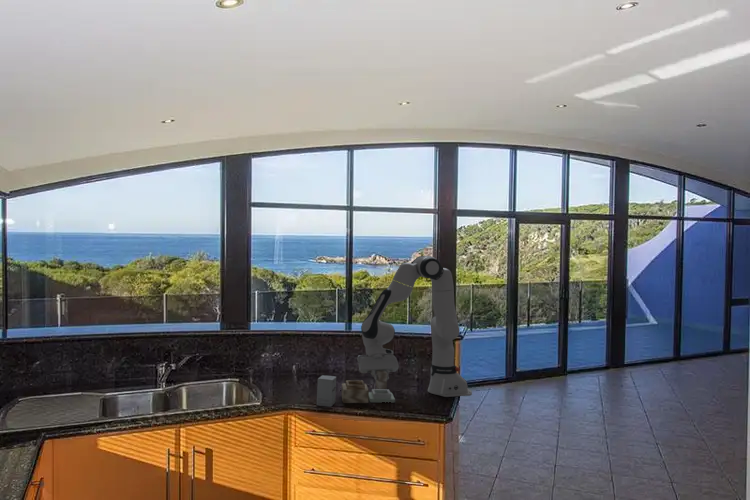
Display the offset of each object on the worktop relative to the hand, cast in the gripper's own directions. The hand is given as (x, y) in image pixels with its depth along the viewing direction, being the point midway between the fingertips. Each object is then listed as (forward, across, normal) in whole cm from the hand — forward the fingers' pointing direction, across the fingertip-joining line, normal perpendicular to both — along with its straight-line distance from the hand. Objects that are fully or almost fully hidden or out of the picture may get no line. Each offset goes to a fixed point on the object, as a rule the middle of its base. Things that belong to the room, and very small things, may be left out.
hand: (382, 379), depth 292 cm
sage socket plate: (+7, 0, +7) cm, 10 cm away
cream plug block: (+3, 0, +4) cm, 5 cm away
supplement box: (+8, -28, +6) cm, 30 cm away
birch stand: (+5, -13, +9) cm, 16 cm away
